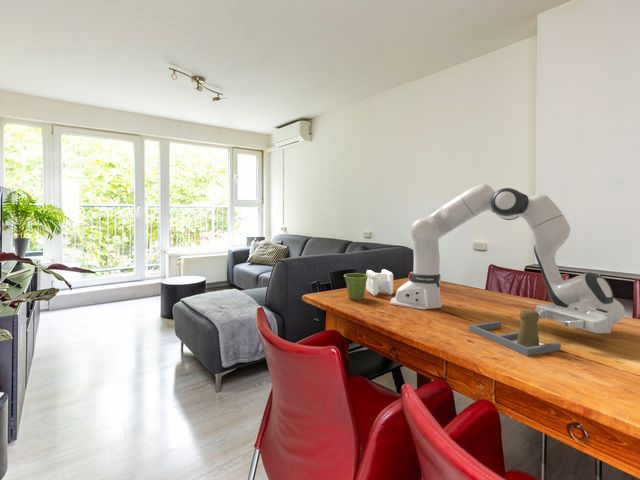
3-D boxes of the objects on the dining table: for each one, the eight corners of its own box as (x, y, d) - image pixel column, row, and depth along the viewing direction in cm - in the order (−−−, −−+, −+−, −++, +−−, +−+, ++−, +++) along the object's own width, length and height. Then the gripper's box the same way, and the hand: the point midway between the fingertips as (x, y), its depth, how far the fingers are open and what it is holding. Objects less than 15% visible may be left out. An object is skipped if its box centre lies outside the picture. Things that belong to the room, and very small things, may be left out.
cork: (515, 340, 109) (517, 306, 108) (537, 343, 106) (539, 308, 105) (517, 347, 103) (519, 311, 102) (541, 350, 101) (543, 313, 100)
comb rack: (498, 326, 123) (498, 321, 123) (560, 350, 101) (560, 343, 101) (468, 330, 118) (469, 325, 118) (527, 356, 97) (527, 349, 97)
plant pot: (339, 297, 167) (339, 274, 166) (360, 294, 172) (360, 272, 171) (351, 302, 156) (351, 278, 156) (373, 299, 161) (373, 276, 161)
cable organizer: (393, 296, 168) (394, 273, 167) (373, 297, 167) (373, 273, 166) (384, 290, 183) (384, 268, 182) (364, 290, 181) (365, 269, 181)
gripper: (552, 298, 122) (523, 301, 117) (618, 314, 103) (586, 319, 98) (551, 316, 122) (522, 319, 118) (616, 335, 103) (585, 340, 99)
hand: (552, 319), depth 108 cm, fingers open, 8 cm apart
